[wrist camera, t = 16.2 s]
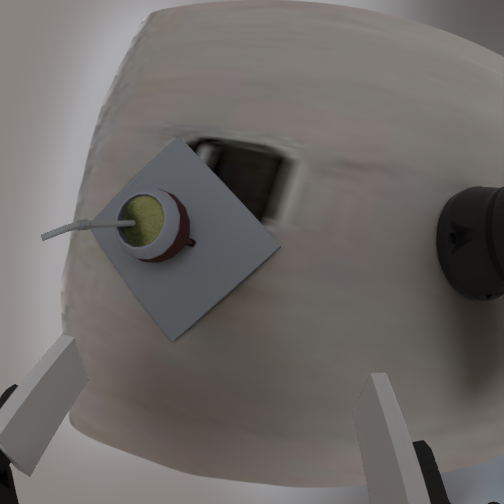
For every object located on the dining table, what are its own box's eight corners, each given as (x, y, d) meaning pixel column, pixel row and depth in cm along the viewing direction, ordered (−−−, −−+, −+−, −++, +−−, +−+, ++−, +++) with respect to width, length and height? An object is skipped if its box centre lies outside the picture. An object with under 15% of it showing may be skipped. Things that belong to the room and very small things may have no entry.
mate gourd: (212, 216, 32) (157, 168, 17) (182, 282, 32) (106, 284, 17) (156, 192, 33) (81, 141, 18) (128, 254, 33) (38, 238, 18)
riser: (281, 248, 35) (281, 245, 31) (181, 336, 35) (171, 342, 31) (187, 147, 37) (178, 136, 34) (102, 230, 37) (88, 225, 34)
